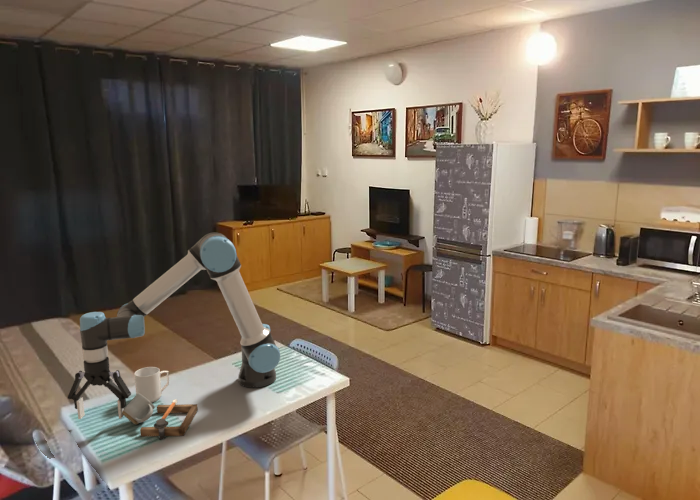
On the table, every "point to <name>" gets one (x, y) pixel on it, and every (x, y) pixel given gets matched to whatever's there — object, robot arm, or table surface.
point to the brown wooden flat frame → (176, 430)
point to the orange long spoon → (163, 421)
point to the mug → (149, 383)
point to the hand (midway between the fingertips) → (101, 416)
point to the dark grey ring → (161, 430)
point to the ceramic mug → (138, 409)
